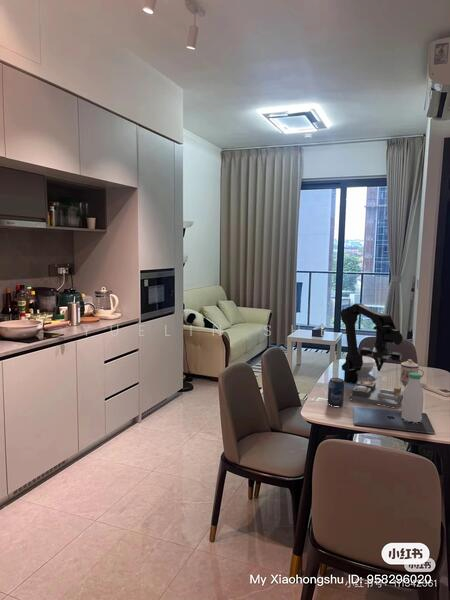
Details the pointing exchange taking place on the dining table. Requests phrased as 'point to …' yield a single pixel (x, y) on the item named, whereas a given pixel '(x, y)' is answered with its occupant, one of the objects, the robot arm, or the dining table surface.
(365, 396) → the control panel
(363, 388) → the button grey
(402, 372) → the teacup with lid
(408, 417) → the milk bottle
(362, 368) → the bowl
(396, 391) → the upright wooden block
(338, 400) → the soda can
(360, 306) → the robot arm
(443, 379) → the dining table surface
